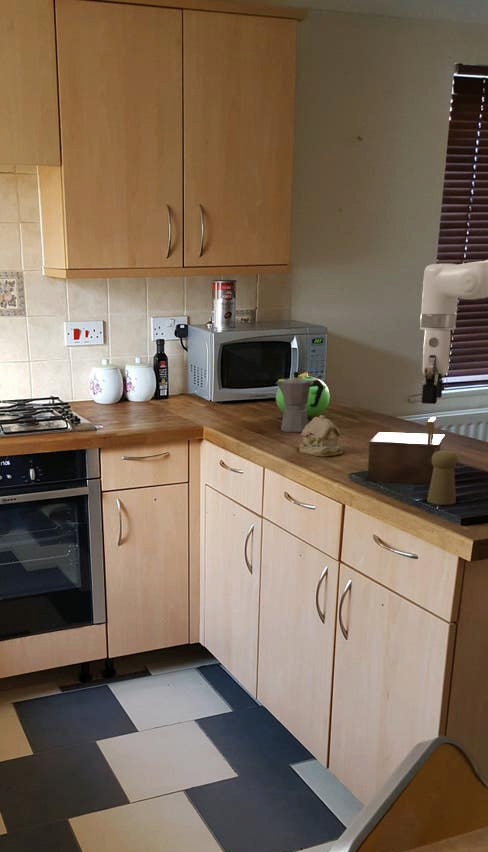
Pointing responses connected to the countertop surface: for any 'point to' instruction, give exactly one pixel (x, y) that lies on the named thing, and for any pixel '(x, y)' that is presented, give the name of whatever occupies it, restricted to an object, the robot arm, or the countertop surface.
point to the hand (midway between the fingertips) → (431, 400)
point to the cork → (443, 478)
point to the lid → (410, 438)
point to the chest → (400, 464)
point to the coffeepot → (297, 402)
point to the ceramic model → (320, 438)
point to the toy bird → (311, 397)
